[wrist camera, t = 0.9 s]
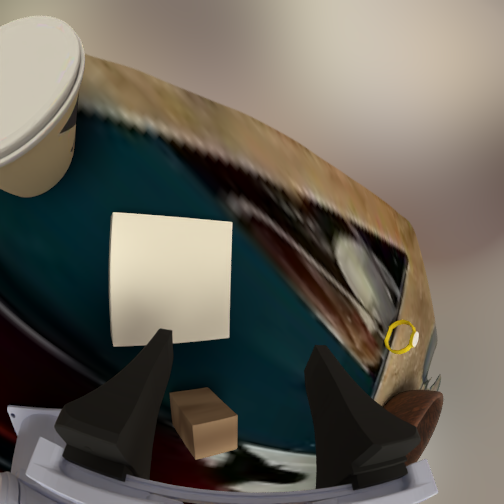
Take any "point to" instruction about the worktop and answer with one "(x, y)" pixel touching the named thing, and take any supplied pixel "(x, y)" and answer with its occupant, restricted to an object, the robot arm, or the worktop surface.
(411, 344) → the watch
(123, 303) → the base brick
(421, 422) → the wooden bowl
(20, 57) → the coffee cup
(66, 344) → the worktop surface
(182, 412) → the walnut brick
